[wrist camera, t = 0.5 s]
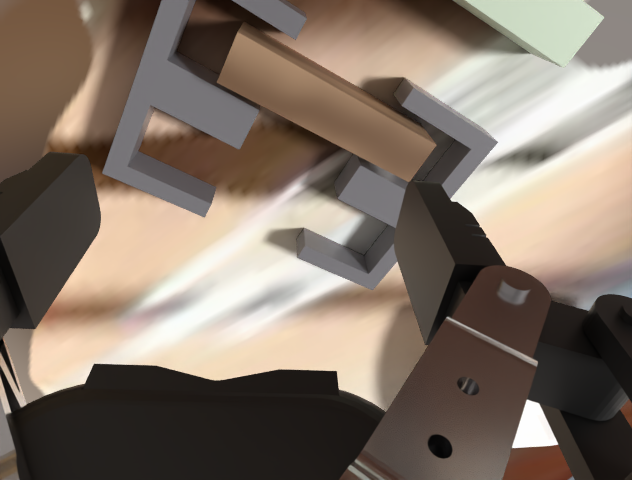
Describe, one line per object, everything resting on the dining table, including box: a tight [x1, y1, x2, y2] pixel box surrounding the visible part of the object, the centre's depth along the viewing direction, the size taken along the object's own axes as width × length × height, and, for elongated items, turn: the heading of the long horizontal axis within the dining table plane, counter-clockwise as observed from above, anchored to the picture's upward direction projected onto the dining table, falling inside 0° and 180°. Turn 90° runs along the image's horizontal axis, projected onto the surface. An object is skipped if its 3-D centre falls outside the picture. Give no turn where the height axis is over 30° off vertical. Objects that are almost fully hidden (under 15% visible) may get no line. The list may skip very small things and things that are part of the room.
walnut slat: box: [217, 22, 436, 182], centre depth 32 cm, size 4×16×5 cm, turn 61°
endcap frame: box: [102, 0, 498, 290], centre depth 35 cm, size 18×26×3 cm
